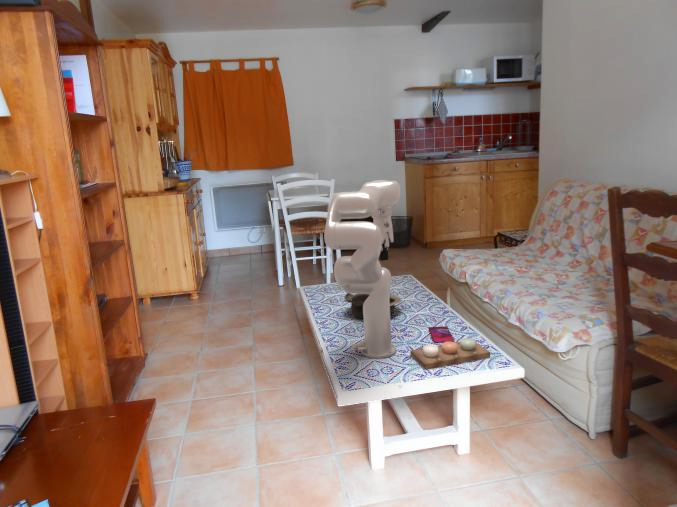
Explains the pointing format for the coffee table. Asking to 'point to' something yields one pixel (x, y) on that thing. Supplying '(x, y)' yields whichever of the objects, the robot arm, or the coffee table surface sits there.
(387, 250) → the robot arm
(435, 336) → the smartphone
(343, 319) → the coffee table surface
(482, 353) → the button board
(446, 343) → the terracotta button
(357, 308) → the stone bowl
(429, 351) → the off-white button
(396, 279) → the coffee table surface
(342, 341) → the coffee table surface
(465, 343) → the sage button
